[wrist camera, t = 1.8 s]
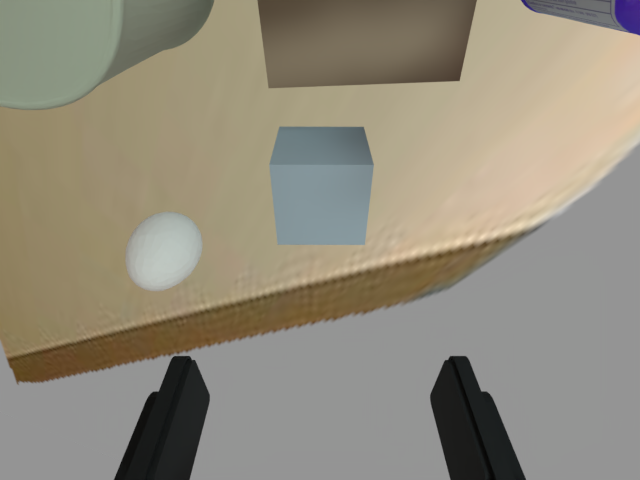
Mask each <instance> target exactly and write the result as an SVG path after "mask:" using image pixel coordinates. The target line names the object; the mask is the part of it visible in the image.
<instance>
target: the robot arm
mask: <svg viewBox="0 0 640 480" xmlns="http://www.w3.org/2000/svg"><path fill="white" fill-rule="evenodd" d="M209 402H210V394H209V391H208V389H207V387H206V384H205V382H204V380H203V377H202V375H201V372H200V370H199V368H198V365H197V363H196V361H195V360H192V359H191V357H190V356H174V357H173V358H172V359H171V361H170V363H169V366H168V368H167V371H166V374H165V376H164V379H163V381H162V384H161V387H160V389H159V391H153V392H152V393H151V394H150V395H149V396H148V398H147V400H146V402H145V404H144V407H143V409H142V412H141V414H140V417H139V419H138V422H137V424H136V426H135V429H134V431H133V434H132V436H131V439H130V441H129V444H128V446H127V449H126V451H125V453H124V456H123V458H122V461H121V463H120V466H119V468H118V471H117V473H116V476H115V478H114V480H190V476H191V473H192V469H193V465H194V461H195V457H196V453H197V449H198V445H199V441H200V438H201V434H202V430H203V426H204V422H205V418H206V414H207V410H208V407H209ZM430 402H431V407H432V410H433V414H434V418H435V422H436V426H437V430H438V434H439V438H440V441H441V445H442V449H443V453H444V457H445V461H446V465H447V469H448V473H449V476H450V480H526V478H525V476H524V473H523V471H522V468H521V466H520V463H519V461H518V458H517V456H516V453H515V451H514V449H513V446H512V444H511V441H510V439H509V436H508V434H507V431H506V429H505V426H504V424H503V422H502V419H501V417H500V414H499V412H498V409H497V407H496V404H495V402H494V400H493V398H492V396H491V395H490V394H489V393H488V392H487V391H481V389H480V387H479V384H478V381H477V379H476V376H475V374H474V371H473V368H472V366H471V363H470V361H469V359H468V358H467V357H466V356H450V357H449V359H448V360H445V361H444V363H443V365H442V368H441V370H440V372H439V375H438V377H437V380H436V382H435V384H434V387H433V389H432V391H431V394H430Z"/></svg>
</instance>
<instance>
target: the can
mask: <svg viewBox="0 0 640 480" xmlns="http://www.w3.org/2000/svg"><path fill="white" fill-rule="evenodd" d="M213 4H214V0H0V106H1V107H6V108H11V109H19V110H47V109H53V108H58V107H62V106H66V105H68V104H71V103H74V102H76V101H78V100H80V99H81V98H83V97H85V96H86V95H88V94H89V93H90V92H92V91H93V90H94V89H95V88H96V87H97V86H99V85H100V84H102V83H104V82H106V81H107V80H109V79H111V78H113V77H114V76H116V75H118V74H120V73H122V72H123V71H125V70H127V69H129V68H131V67H132V66H134V65H136V64H138V63H140V62H142V61H144V60H146V59H148V58H149V57H151V56H153V55H155V54H157V53H159V52H161V51H163V50H168V49H172V48H175V47H178V46H180V45H182V44H184V43H186V42H187V41H189V40H190V39H191V38H193V37H194V36H195V35H196V34H197V33H198V32H199V30H200V29H201V28H202V27H203V25H204V24H205V22H206V21H207V19H208V17H209V14H210V12H211V9H212V7H213Z"/></svg>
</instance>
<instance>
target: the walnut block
mask: <svg viewBox="0 0 640 480" xmlns="http://www.w3.org/2000/svg"><path fill="white" fill-rule="evenodd" d="M257 1H258V9H259V17H260V25H261V33H262V40H263V48H264V56H265V64H266V72H267V80H268V88H291V87H318V86H344V85H370V84H397V83H423V82H450V81H460V77H461V72H462V68H463V63H464V58H465V54H466V49H467V44H468V40H469V35H470V30H471V26H472V21H473V16H474V12H475V7H476V2H477V0H257Z"/></svg>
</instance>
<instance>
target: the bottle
mask: <svg viewBox="0 0 640 480" xmlns="http://www.w3.org/2000/svg"><path fill="white" fill-rule="evenodd" d="M521 1H522V3H523V4H524V5H525V6H526V7H527V8H528V9H530V10H532V11H534V12H537V13H542V14H547V15H552V16H556V17H561V18H566V19H570V20H574V21H578V22H582V23H587V24H591V25H596V26H600V27H605V28H610V29H614V30H619V31H623V32H628V33H633V34H637V35H639V36H640V0H521Z"/></svg>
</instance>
